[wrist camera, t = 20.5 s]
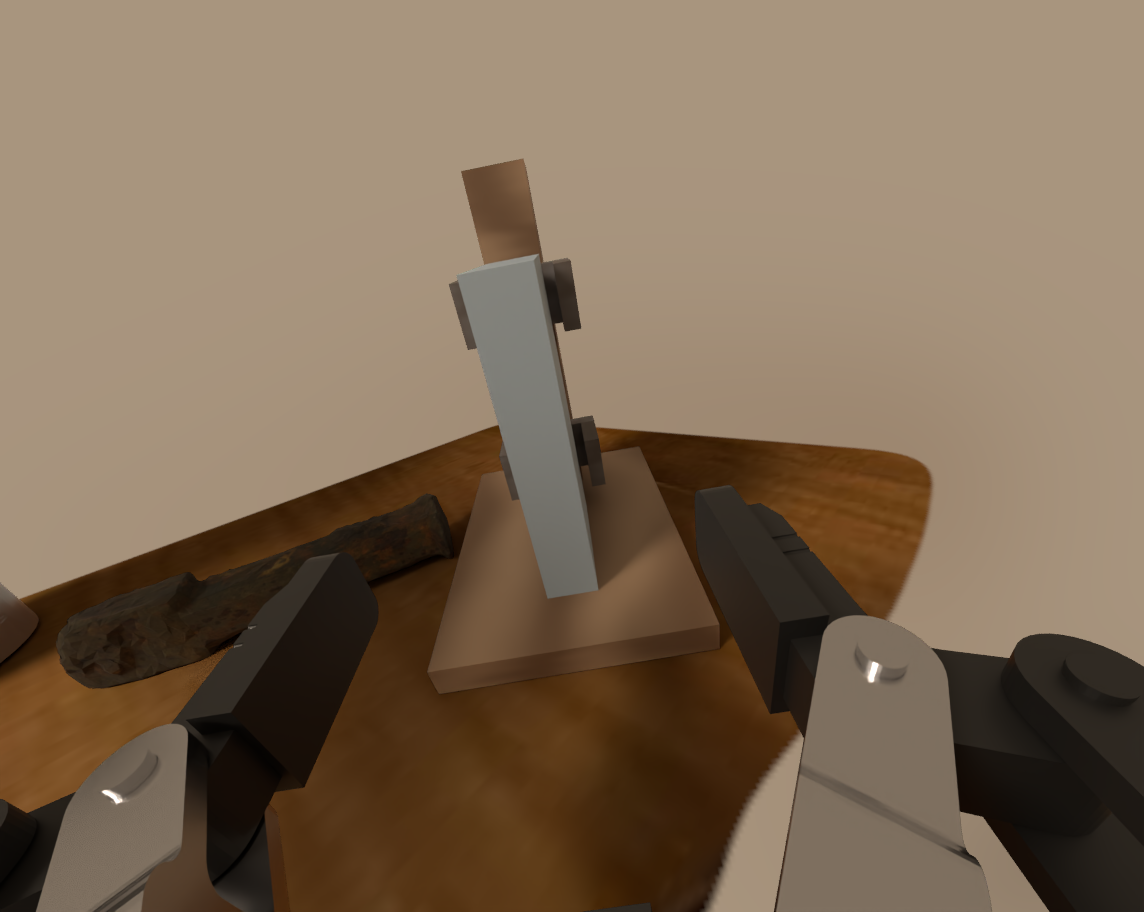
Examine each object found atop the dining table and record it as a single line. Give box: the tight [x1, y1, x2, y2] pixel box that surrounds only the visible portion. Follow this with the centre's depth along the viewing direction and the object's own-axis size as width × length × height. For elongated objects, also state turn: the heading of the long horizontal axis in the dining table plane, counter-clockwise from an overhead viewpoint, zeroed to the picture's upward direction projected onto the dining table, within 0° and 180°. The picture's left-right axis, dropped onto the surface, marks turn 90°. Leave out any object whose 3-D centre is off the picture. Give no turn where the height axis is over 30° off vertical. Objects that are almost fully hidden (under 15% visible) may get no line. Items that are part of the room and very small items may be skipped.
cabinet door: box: [457, 254, 598, 598], centre depth 19 cm, size 2×9×14 cm, turn 3°
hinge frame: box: [427, 159, 720, 694], centre depth 20 cm, size 12×16×20 cm
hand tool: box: [56, 494, 454, 689], centre depth 23 cm, size 19×4×5 cm, turn 113°
